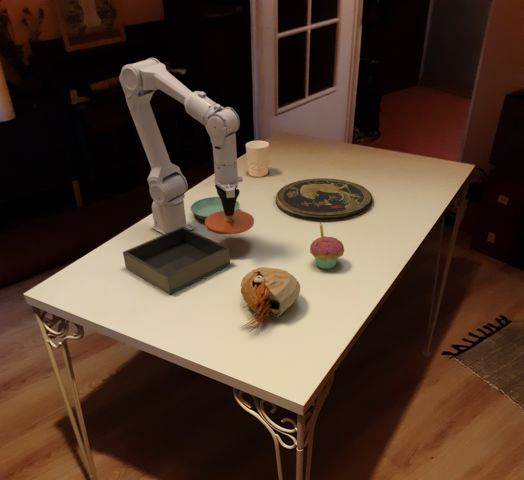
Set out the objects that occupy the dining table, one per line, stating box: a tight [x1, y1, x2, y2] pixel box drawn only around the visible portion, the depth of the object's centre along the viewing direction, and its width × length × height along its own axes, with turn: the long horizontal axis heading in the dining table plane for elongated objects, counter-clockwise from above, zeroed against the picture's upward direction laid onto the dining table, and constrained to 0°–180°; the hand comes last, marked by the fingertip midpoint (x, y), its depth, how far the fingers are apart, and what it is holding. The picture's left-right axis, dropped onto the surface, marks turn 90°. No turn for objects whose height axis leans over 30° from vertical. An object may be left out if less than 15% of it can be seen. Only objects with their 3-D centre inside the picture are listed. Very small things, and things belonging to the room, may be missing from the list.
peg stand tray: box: [122, 227, 231, 295], centre depth 144 cm, size 19×20×5 cm
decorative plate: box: [275, 177, 374, 222], centre depth 175 cm, size 30×2×30 cm
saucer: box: [189, 196, 241, 222], centre depth 169 cm, size 15×15×3 cm
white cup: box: [245, 140, 270, 178], centre depth 192 cm, size 8×8×10 cm
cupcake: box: [309, 221, 345, 270], centre depth 141 cm, size 9×8×12 cm
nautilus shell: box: [240, 266, 301, 334], centre depth 126 cm, size 8×22×15 cm
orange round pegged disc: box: [204, 209, 255, 236], centre depth 147 cm, size 13×13×7 cm
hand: (228, 213), depth 148 cm, fingers closed on orange round pegged disc
